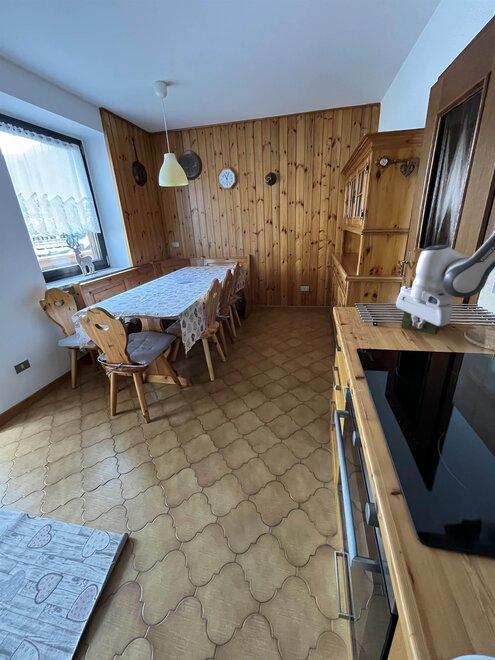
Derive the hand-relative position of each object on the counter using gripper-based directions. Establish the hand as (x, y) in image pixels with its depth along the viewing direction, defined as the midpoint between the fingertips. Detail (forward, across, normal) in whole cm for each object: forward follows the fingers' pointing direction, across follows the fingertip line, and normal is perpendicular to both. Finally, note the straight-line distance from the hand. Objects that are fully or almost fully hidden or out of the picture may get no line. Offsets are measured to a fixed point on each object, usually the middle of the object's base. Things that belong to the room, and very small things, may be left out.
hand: (416, 326), depth 106 cm
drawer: (+5, -6, +9) cm, 11 cm away
